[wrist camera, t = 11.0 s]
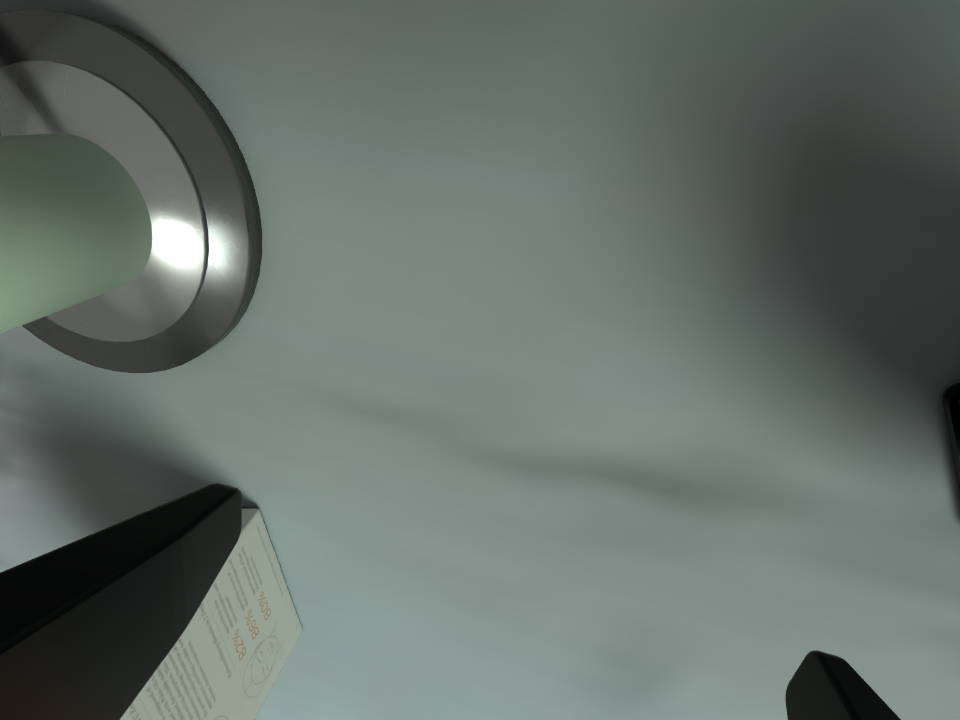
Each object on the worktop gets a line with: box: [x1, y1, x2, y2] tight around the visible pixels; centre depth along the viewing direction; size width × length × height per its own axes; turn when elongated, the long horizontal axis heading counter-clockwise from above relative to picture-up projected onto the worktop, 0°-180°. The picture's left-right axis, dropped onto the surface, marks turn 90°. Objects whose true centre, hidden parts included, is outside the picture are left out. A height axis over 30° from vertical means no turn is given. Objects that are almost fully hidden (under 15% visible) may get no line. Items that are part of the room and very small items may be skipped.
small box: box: [120, 508, 302, 720], centre depth 24 cm, size 8×6×10 cm
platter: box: [0, 10, 262, 373], centre depth 22 cm, size 13×13×1 cm
